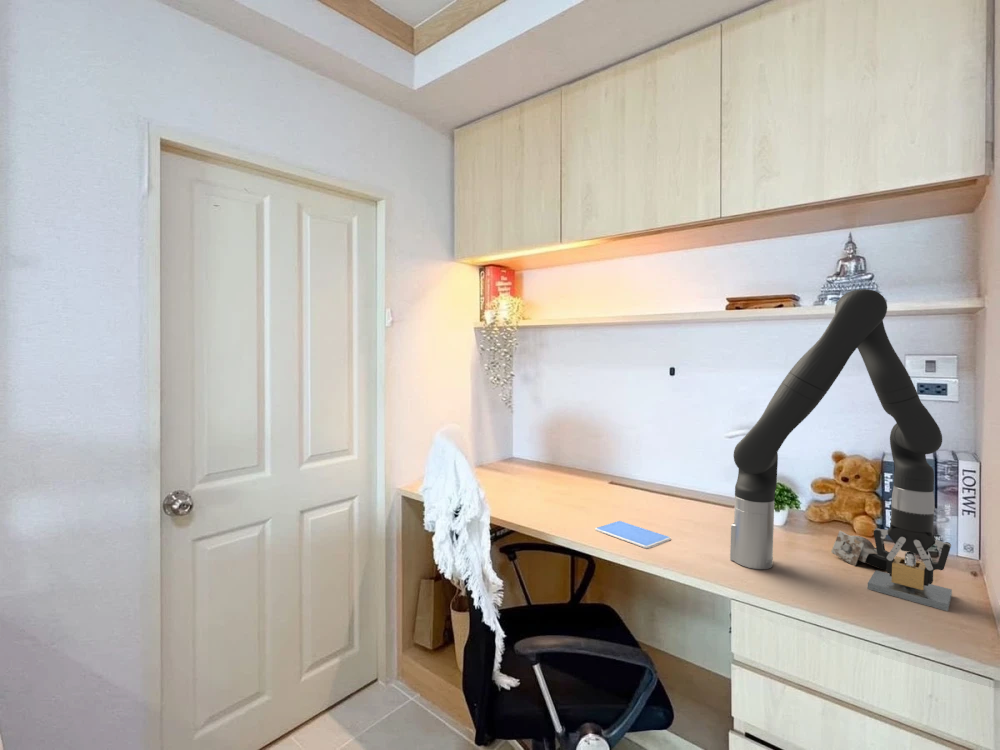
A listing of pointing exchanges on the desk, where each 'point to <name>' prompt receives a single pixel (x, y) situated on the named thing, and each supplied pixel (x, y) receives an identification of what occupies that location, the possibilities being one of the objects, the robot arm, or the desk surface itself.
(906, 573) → the tan slotted block
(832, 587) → the desk surface
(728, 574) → the desk surface
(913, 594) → the post block
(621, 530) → the tablet computer
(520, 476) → the desk surface
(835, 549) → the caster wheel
